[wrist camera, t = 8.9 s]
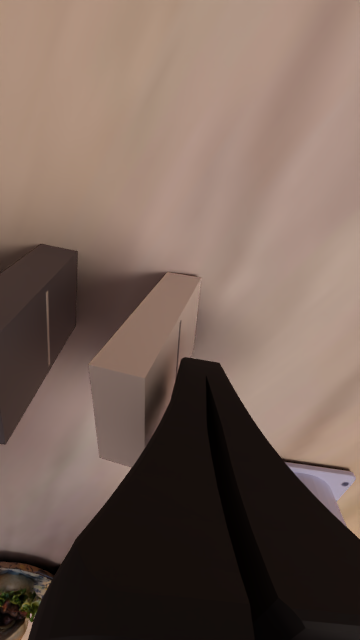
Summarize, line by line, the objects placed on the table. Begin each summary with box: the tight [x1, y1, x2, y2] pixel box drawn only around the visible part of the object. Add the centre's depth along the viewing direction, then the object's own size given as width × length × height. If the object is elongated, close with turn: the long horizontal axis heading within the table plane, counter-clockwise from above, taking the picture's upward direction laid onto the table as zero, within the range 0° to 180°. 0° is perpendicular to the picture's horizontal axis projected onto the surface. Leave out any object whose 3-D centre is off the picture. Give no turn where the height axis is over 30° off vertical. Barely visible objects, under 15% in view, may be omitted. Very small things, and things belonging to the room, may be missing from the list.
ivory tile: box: [88, 272, 201, 467], centre depth 12 cm, size 4×2×7 cm, turn 176°
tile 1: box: [0, 244, 78, 444], centre depth 11 cm, size 4×2×7 cm, turn 168°
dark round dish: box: [0, 561, 54, 640], centre depth 29 cm, size 12×12×8 cm
